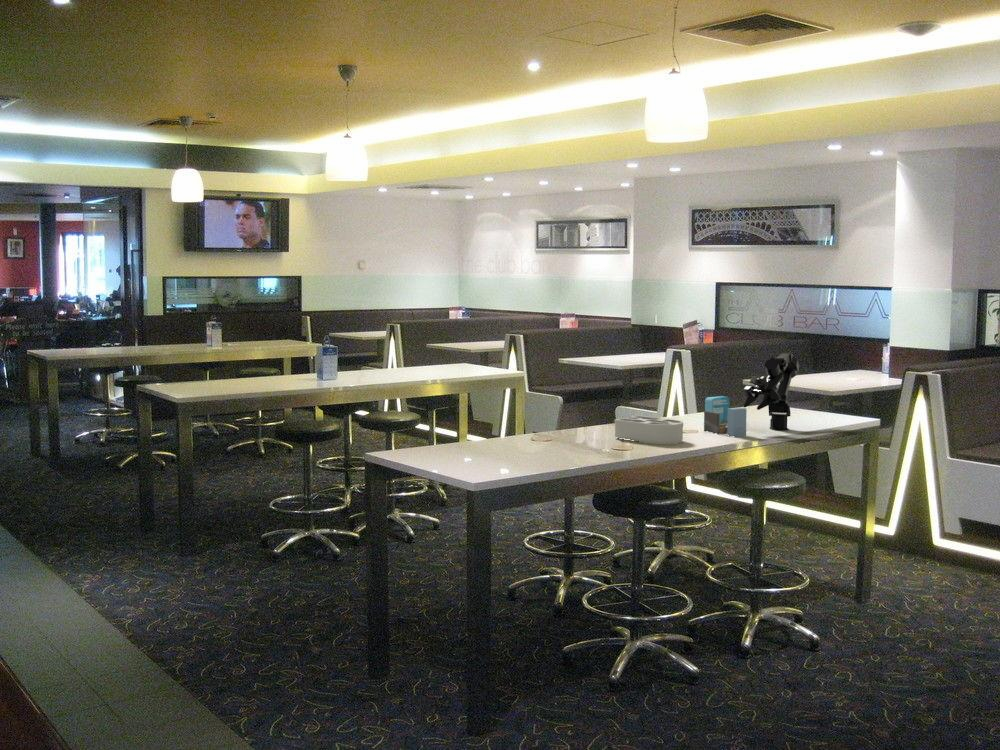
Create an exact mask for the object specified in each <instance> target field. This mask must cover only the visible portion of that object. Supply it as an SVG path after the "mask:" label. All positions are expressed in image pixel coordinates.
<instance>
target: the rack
mask: <svg viewBox="0 0 1000 750" xmlns="http://www.w3.org/2000/svg"><path fill="white" fill-rule="evenodd" d="M703 413H704V414H703V432H706V431H708V432H707V433H711V432H713V433H712V434H715V433H717V434H716V435H719V434H718V433H724V434H727V426H726V425H727V424H725V423H724V424H723V423H722V424H720V423H719V413H714V412H709V411H705V410H704V411H703Z"/></svg>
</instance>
